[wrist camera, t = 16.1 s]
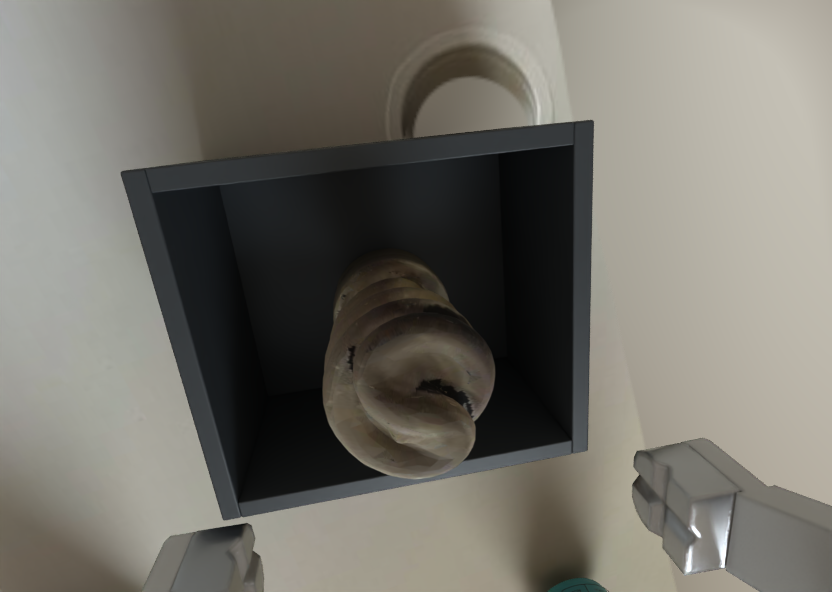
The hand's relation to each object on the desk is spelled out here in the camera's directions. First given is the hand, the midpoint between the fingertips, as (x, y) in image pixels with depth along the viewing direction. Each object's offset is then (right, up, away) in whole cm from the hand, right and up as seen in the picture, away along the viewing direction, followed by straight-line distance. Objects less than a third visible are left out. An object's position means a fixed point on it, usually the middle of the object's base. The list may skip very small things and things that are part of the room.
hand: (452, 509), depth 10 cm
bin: (-3, +6, +18) cm, 20 cm away
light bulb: (-3, +6, +18) cm, 19 cm away
